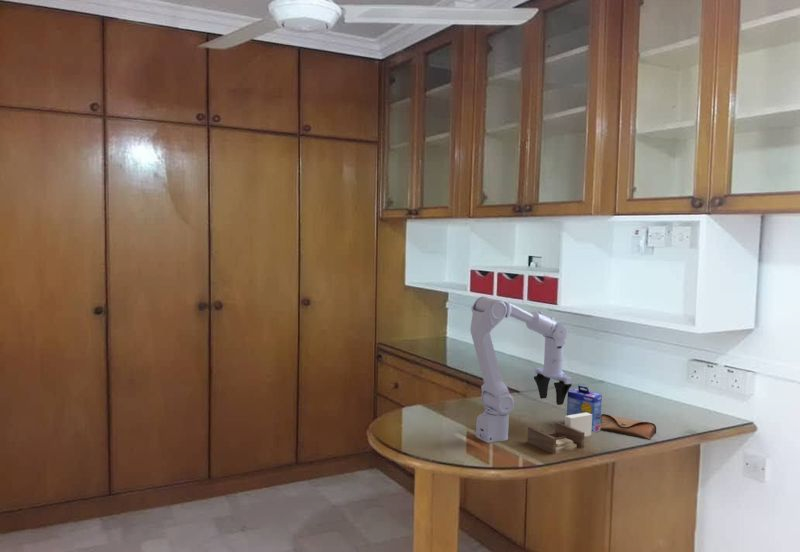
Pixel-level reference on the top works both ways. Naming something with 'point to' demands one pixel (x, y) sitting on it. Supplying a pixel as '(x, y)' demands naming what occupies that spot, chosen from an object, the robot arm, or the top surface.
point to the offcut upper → (563, 442)
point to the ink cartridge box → (585, 405)
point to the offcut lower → (566, 447)
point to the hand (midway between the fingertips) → (551, 401)
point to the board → (580, 422)
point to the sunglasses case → (627, 426)
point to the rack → (555, 438)
